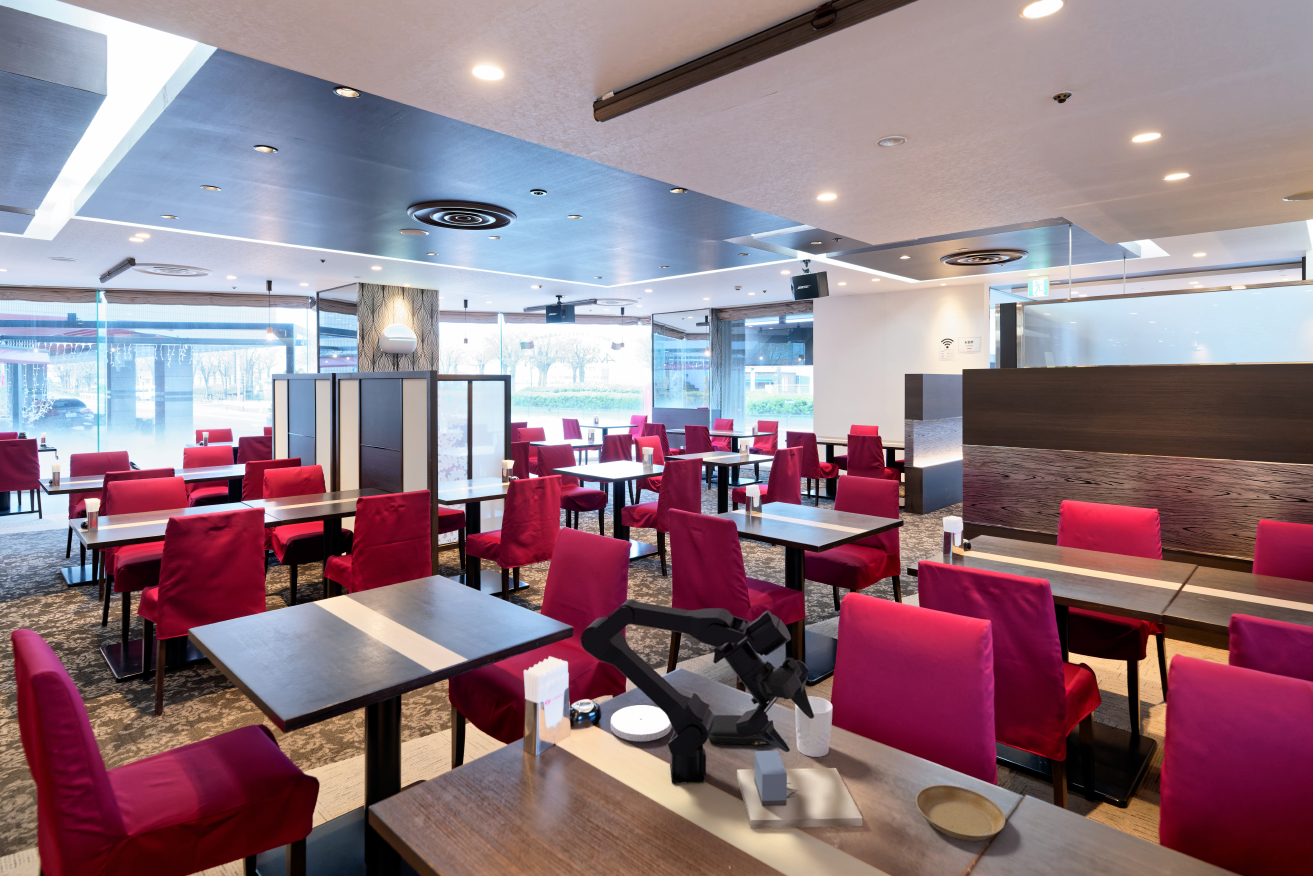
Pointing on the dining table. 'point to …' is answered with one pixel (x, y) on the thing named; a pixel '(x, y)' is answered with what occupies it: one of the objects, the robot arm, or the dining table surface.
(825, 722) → the white cup
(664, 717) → the plastic lid
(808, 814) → the board
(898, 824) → the dining table surface
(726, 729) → the carrying case or bag
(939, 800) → the plant saucer
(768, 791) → the block
